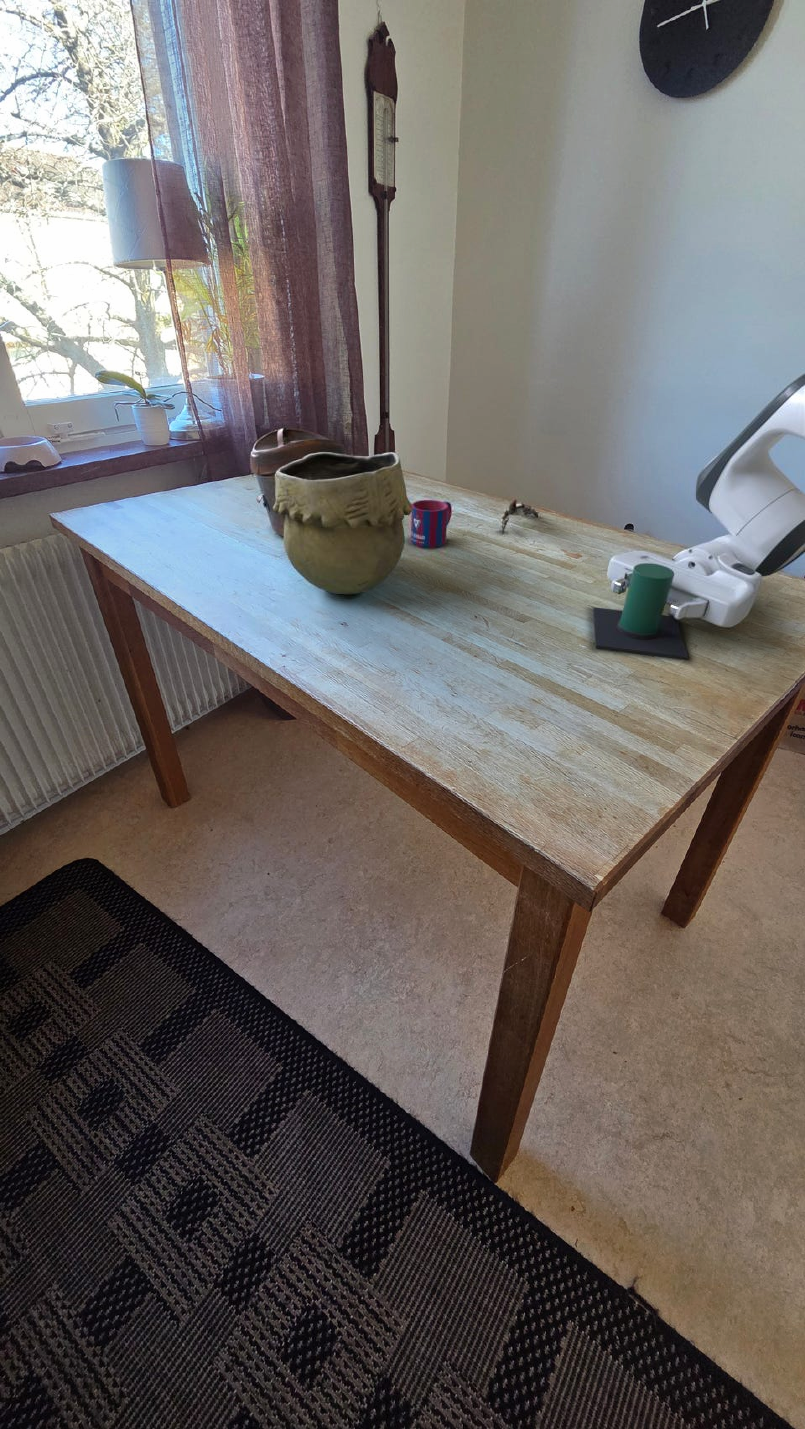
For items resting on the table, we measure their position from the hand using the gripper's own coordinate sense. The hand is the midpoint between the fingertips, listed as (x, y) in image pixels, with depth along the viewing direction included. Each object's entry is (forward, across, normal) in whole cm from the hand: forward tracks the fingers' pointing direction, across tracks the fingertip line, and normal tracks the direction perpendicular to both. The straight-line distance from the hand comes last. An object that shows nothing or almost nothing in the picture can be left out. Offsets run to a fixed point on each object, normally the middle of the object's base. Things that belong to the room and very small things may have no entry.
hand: (643, 599), depth 83 cm
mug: (-1, -46, +6) cm, 46 cm away
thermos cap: (-1, 0, +5) cm, 5 cm away
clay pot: (+25, -37, +6) cm, 45 cm away
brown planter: (+17, -65, +6) cm, 67 cm away
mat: (-1, 0, +6) cm, 6 cm away
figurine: (-20, -42, +6) cm, 47 cm away
